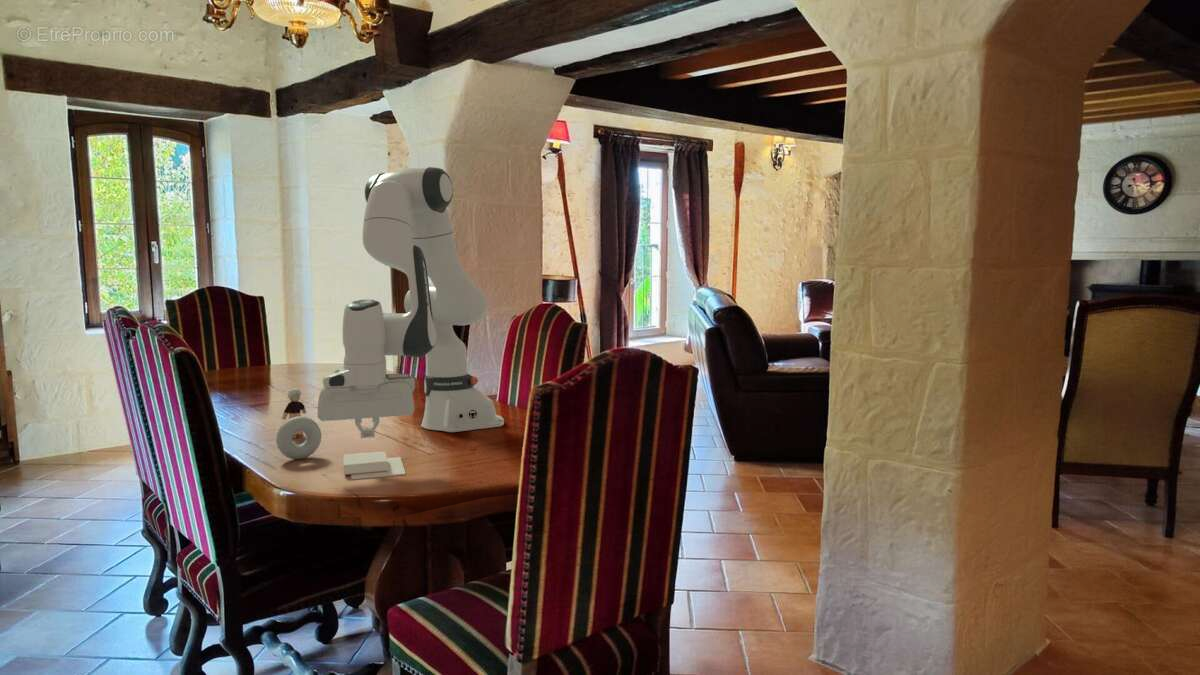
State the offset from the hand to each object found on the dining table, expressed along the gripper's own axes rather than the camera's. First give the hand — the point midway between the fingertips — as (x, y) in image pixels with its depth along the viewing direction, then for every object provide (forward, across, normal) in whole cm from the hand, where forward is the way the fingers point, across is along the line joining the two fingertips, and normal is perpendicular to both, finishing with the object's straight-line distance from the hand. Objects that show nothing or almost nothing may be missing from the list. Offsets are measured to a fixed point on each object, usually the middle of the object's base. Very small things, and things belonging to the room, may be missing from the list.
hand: (367, 437), depth 165 cm
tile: (+5, +5, 0) cm, 7 cm away
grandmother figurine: (+7, +17, -38) cm, 42 cm away
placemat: (+7, -2, 0) cm, 7 cm away
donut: (+7, +15, -14) cm, 22 cm away
